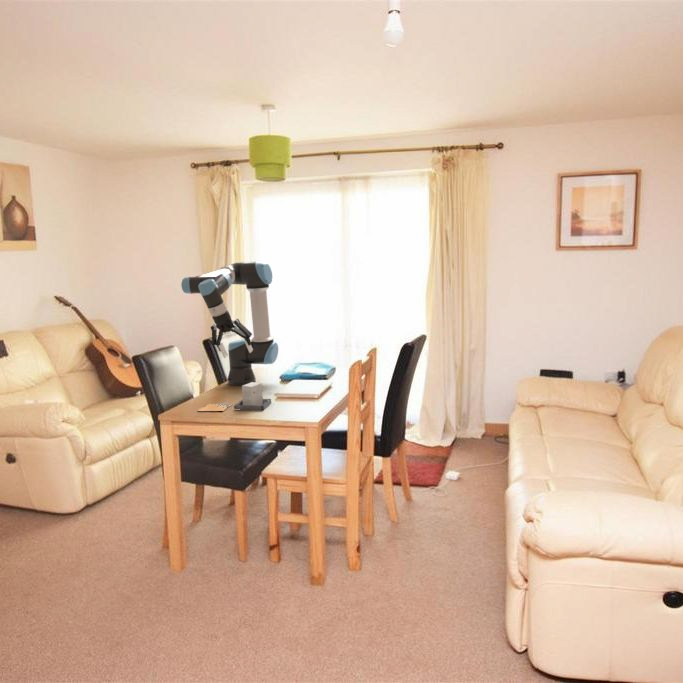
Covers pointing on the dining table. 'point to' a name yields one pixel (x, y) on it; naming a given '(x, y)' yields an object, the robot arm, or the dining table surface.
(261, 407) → the holding frame
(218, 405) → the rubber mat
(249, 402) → the small box
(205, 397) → the dining table surface
